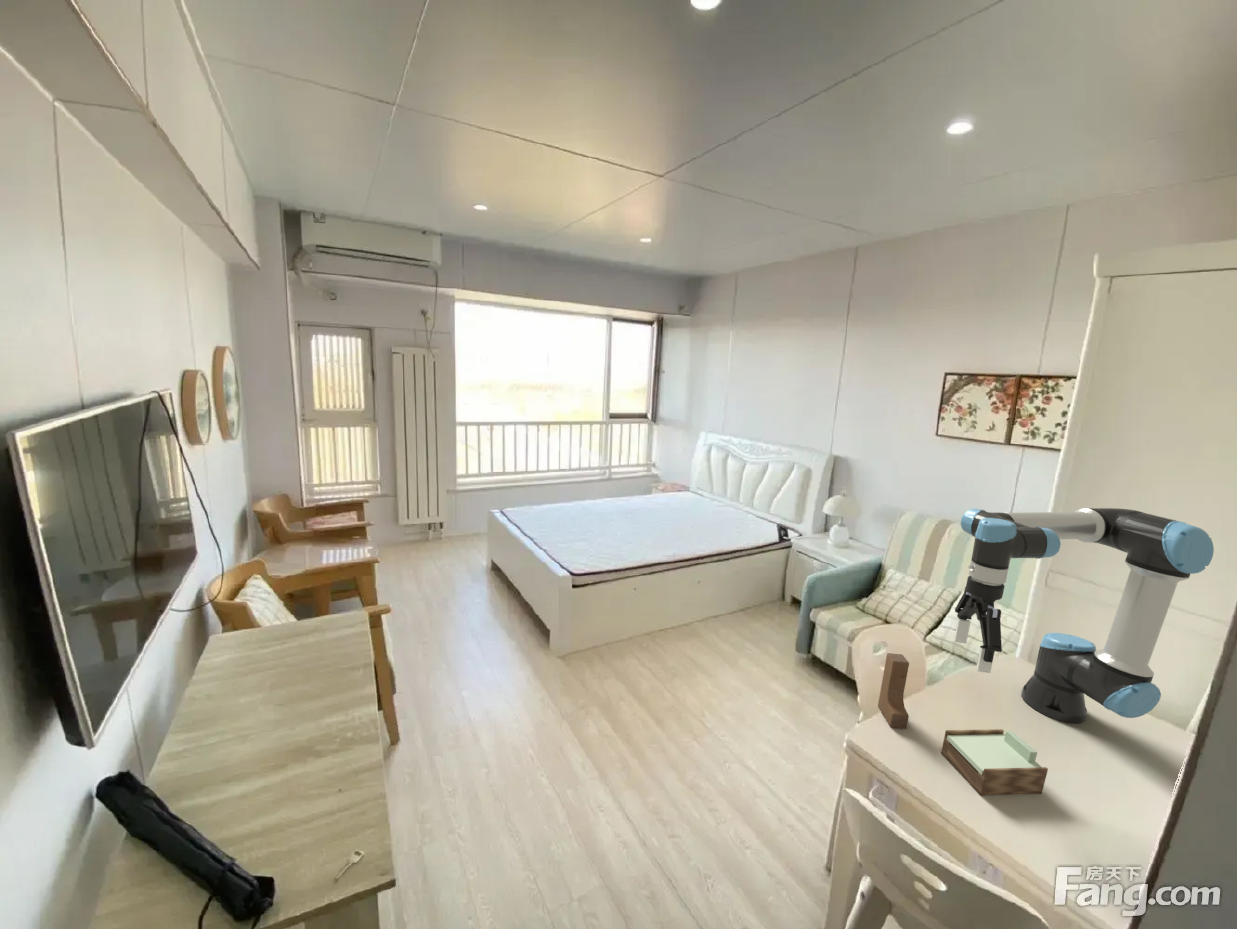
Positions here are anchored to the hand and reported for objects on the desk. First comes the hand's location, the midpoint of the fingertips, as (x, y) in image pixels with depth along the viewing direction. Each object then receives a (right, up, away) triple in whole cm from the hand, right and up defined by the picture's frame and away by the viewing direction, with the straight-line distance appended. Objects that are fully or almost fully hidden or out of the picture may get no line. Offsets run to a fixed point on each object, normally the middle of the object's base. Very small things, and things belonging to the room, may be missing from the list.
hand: (970, 656), depth 127 cm
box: (+3, -28, -3) cm, 29 cm away
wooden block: (-12, -24, +16) cm, 31 cm away
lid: (+3, -24, -4) cm, 24 cm away
